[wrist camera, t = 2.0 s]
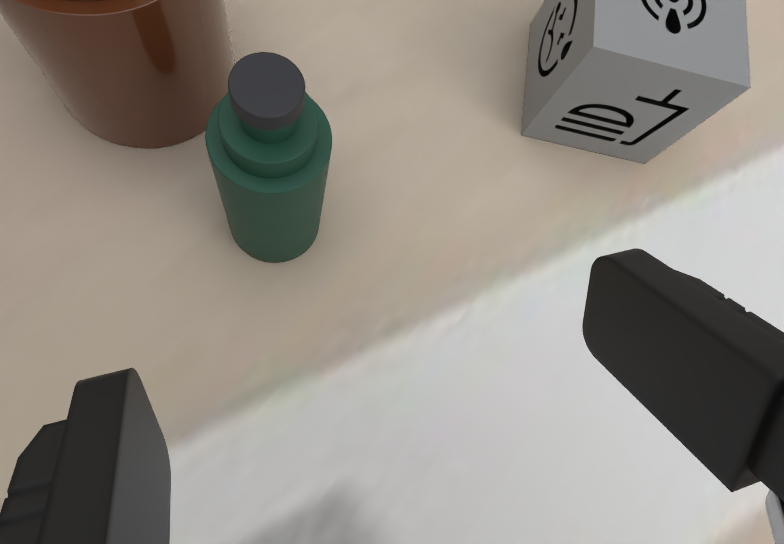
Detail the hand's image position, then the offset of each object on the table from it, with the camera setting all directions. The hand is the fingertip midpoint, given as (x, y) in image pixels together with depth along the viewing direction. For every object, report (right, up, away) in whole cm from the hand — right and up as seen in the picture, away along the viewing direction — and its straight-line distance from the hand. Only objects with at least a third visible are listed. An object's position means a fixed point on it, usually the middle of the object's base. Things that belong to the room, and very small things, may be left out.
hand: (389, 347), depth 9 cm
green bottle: (-8, +5, +26) cm, 27 cm away
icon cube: (+15, +15, +33) cm, 39 cm away
